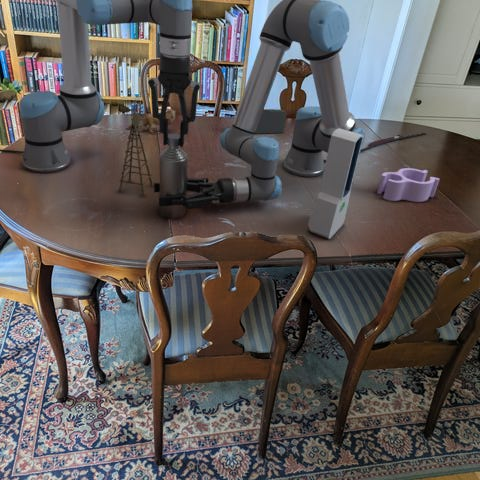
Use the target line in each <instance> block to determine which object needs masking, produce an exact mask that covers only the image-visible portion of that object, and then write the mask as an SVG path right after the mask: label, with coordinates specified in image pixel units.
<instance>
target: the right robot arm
mask: <svg viewBox="0 0 480 480" xmlns="http://www.w3.org/2000/svg"><path fill="white" fill-rule="evenodd" d="M349 32H350V18H349V15H348V13H347V11H346V9H345V8H344V7H343V6H342V5H340V4H338V3H335V2H333V1H331V0H281V1H279V3H277V5H275V7H274V8H273V9H272V10H271V12H270V13H269V14H268V16H267V18H266V20H265V22H264V24H263V26H262V28H261V31H260V34H259V38H258V39H259V42H260V44H259V48H258V51H257V53H256V56H255V59H254V63H253V65H252V67H251V70H250V73H249V76H248V79H247V81H246V85H245V87H244V91H243V93H242V96H241V99H240V102H239V105H238V108H237V110H238V111H237V110H236V112H237V113H236V112H235V113H236V116H235V115H234V119H233V122H232V125H231V127H228V128H226V129H224V131H222V133H221V135H220V138H219V144H220V147H221V148H222V149H223V150H225V151H226V152H227V153H228V154H230V155H232V156H234V157H236V158H238V159H240V160H241V161H243V162H245V163H247V164H248V165H250V166H251V167H250V176H239V177H237V176H236V177H235V176H234V177H220V178H218V179H217V181H216V182H212V181H211V182H210V181H209V180H210V179H209V178H208V177H201V178H195V177H193V178H192V177H191V178H190V177H187V192H193V194H189V195H186V196H185V195H183V199H182V195H180V196H163V197H160V196H158V207H160V206H174V205H183V206H186V210H193V209H199V208H205V207H213V206H214V207H218V206H219V204H230V203H232V202H233V203H243V202H259V201H261V202H262V201H265V202H267V201H272V200H277V199H279V198H280V197H281V194H282V181H281V178H280V177H279V175H276V173H277V166H278V159H279V149H280V144H279V142H278V140H276V139H275V138H273V137H269V136H260V137H256V138H254V137H255V135H256V133H255V131H256V129H257V126H258V123H259V120H260V118H261V115H262V112H263V110H264V109H265V107H266V104H267V101H268V98H269V96H270V94H271V90H272V87H273V85H274V82H275V79H276V77H277V75H278V72H279V69H280V66H281V64H282V61H283V58H284V56H285V53H286V52H288V51H290V49H291V47H292V44H293V43H294V42H295V43H298V44H299V46H300V50H301V53H302V57H303V59H304V60H306V61H307V62H309V65H310V71H311V74H312V78H313V82H314V87H315V91H316V96H317V100H318V105H319V106H304V107H300V108H299V109H297V112H296V114H295V119H294V126H293V132H292V140H291V145H290V148H289V150H288V152H287V154H286V156H285V158H284V159H283V164H282V165H283V169H284V170H285V171H286V172H288V173H290V174H292V175H295V176H298V177H304V178H315V177H319V176H321V175H322V174H324V169H325V163H326V159H324V154H323V152H324V153H326V154H328V149H329V145H330V140H331V135H332V134H333V132H334V131H335V130H337V129H339V128H340V129H343V130H347V131H350V132H354V133H358V134H361V135H364V137H363V141H362V145H361V147H362V146H363V145H364V142H365V138H366V133H365V131H364V129H363V128H362V127H358V126H357V123H356V118H355V116H354V114H353V113H351V112H350V110H349V106H348V104H349V103H348V99H347V98H348V97H347V92H346V87H345V80H344V75H343V74H344V73H343V68H342V63H341V62H342V61H341V57H340V52H342V50H343V48H344V45H345V43H346V42H347V39H348V37H349V35H348V33H349ZM420 133H421V134H419V133H415V134H416V135H414V134H412V135H411V136H406V137H400V138H395V139H391V140H387V141H383V142H379V143H376V144H373V145H370V146H369V145H368V146H366V147H364V148H361V149H360V153H361V152H364V151H367V150H370V149H372V148H375V147H378V146H381V145H384V144H388V143H391V142H395V141H399V140H403V139H404V140H405V139H408V138H413V137H418V136H423V135H427V132H426V133H424V132H420ZM153 192H154V193H160V182H154V183H153Z"/></svg>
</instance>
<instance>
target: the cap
mask: <svg viewBox="0 0 480 480" xmlns="http://www.w3.org/2000/svg"><path fill="white" fill-rule="evenodd" d="M166 146H168V147H169V146H179V147H180V134H177V133H168V135H167V145H166Z"/></svg>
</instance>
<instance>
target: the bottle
mask: <svg viewBox="0 0 480 480" xmlns="http://www.w3.org/2000/svg"><path fill="white" fill-rule="evenodd" d="M188 158H189V155H188V154H187V152H186V151H184V150H183V149H182V148H181V147H180V146H169V145H168V146H167V147H166V148H165V149H163V150H162V151H161V152H160V154H159V163H158V164H159V183H160V192H159V197H163V196H180V195H182V199H183V195H185V196H187V195H188V194H187V192H188V191H187V178H188V163H189V161H188V160H189V159H188ZM159 214H160V216H162V217H164V218H165V219H180V218H182V217H185V215H186V214H187V209H186V206H183V205H174V206H159Z"/></svg>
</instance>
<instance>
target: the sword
mask: <svg viewBox="0 0 480 480" xmlns="http://www.w3.org/2000/svg"><path fill="white" fill-rule="evenodd" d="M401 135H402V136H401ZM401 135H400V134H397V135H395V136H392V137H387V138H382V139H378V140H375V141H372V142H370V143H368V147H369V146H372V145H375V144H378V143H381V142H384V141H388V140H391V139H395V138H400V137H404V136H403V135H404V134H401ZM408 136H409V135H408Z"/></svg>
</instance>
